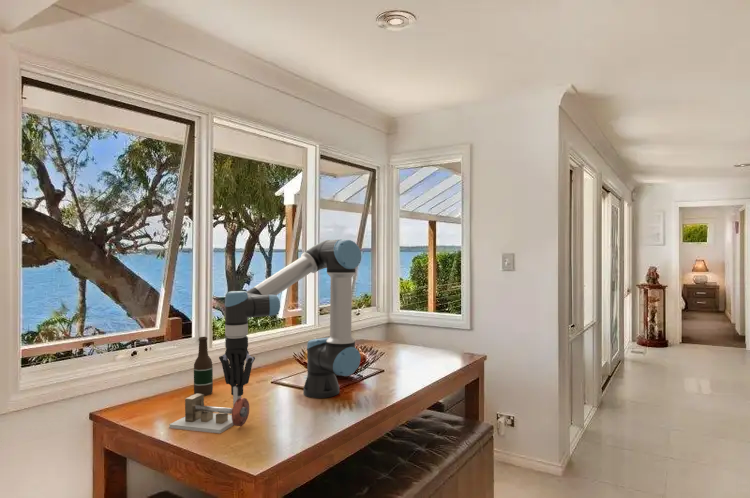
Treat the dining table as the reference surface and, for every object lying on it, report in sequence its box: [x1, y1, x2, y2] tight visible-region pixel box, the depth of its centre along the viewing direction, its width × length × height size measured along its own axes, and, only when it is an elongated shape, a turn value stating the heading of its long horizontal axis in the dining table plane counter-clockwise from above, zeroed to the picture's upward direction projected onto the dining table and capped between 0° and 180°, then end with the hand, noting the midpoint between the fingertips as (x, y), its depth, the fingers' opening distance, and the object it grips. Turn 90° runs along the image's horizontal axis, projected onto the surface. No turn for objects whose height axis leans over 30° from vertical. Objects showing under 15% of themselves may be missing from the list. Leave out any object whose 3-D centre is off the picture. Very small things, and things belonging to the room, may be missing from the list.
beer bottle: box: [193, 336, 214, 397], centre depth 207 cm, size 8×8×24 cm
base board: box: [168, 412, 235, 434], centre depth 171 cm, size 20×14×1 cm
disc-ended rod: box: [195, 397, 250, 427], centre depth 169 cm, size 20×9×9 cm, turn 74°
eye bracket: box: [184, 393, 229, 424], centre depth 171 cm, size 14×6×8 cm, turn 74°
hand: (237, 404), depth 168 cm, fingers closed
